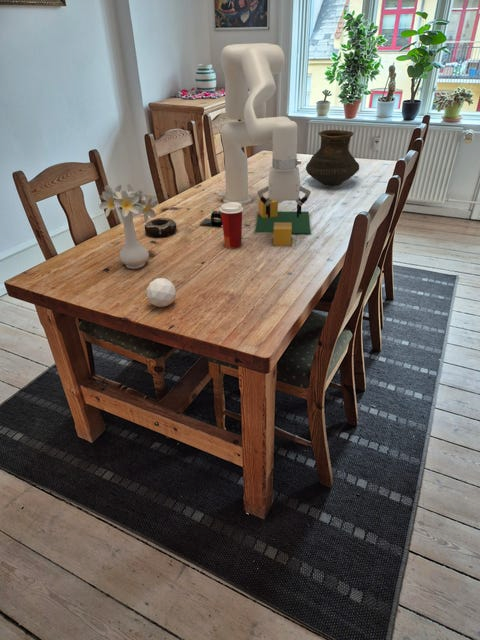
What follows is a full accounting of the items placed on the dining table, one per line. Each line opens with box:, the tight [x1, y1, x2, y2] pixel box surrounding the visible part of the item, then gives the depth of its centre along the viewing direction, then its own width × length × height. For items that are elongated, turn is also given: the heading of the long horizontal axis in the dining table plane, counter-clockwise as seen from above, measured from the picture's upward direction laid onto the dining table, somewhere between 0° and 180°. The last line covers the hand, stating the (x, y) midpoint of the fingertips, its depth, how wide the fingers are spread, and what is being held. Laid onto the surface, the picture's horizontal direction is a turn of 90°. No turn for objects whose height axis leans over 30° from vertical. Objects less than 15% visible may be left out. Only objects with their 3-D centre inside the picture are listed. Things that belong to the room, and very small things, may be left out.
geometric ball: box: [146, 277, 177, 308], centre depth 119 cm, size 8×8×8 cm
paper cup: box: [219, 202, 244, 249], centre depth 149 cm, size 8×8×14 cm
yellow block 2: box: [272, 222, 292, 247], centre depth 152 cm, size 6×6×6 cm
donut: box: [144, 217, 177, 238], centre depth 163 cm, size 12×12×4 cm
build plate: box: [199, 210, 223, 229], centre depth 169 cm, size 12×7×5 cm, turn 74°
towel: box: [254, 211, 312, 235], centre depth 168 cm, size 20×22×1 cm
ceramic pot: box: [305, 129, 360, 187], centre depth 202 cm, size 24×24×22 cm
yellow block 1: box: [257, 197, 279, 218], centre depth 173 cm, size 6×6×6 cm
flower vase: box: [98, 183, 159, 270], centre depth 135 cm, size 13×18×25 cm
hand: (283, 216), depth 148 cm, fingers open, 9 cm apart
